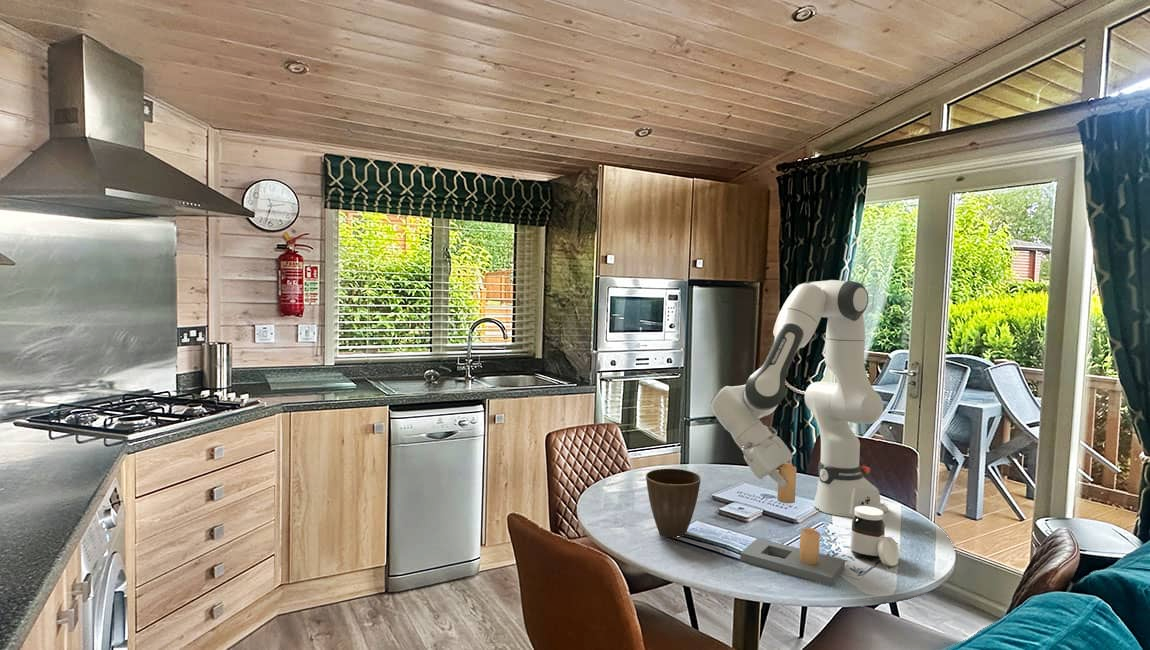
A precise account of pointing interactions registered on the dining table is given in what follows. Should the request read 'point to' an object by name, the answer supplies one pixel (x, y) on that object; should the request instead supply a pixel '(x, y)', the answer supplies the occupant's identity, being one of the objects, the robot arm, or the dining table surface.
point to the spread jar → (872, 537)
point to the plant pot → (672, 499)
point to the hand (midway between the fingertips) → (789, 482)
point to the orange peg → (788, 491)
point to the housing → (796, 558)
